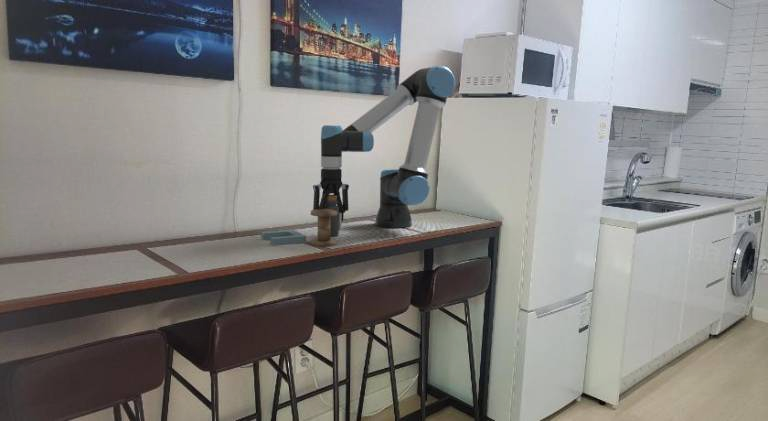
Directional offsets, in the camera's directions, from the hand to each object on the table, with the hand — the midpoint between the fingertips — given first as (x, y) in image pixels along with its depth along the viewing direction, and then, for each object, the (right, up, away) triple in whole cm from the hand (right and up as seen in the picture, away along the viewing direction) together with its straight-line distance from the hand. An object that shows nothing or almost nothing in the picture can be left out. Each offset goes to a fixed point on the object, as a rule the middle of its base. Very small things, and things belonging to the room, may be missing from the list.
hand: (330, 230), depth 201 cm
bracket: (-15, -3, -11) cm, 19 cm away
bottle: (0, -2, 0) cm, 2 cm away
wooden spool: (-1, -4, -14) cm, 15 cm away
